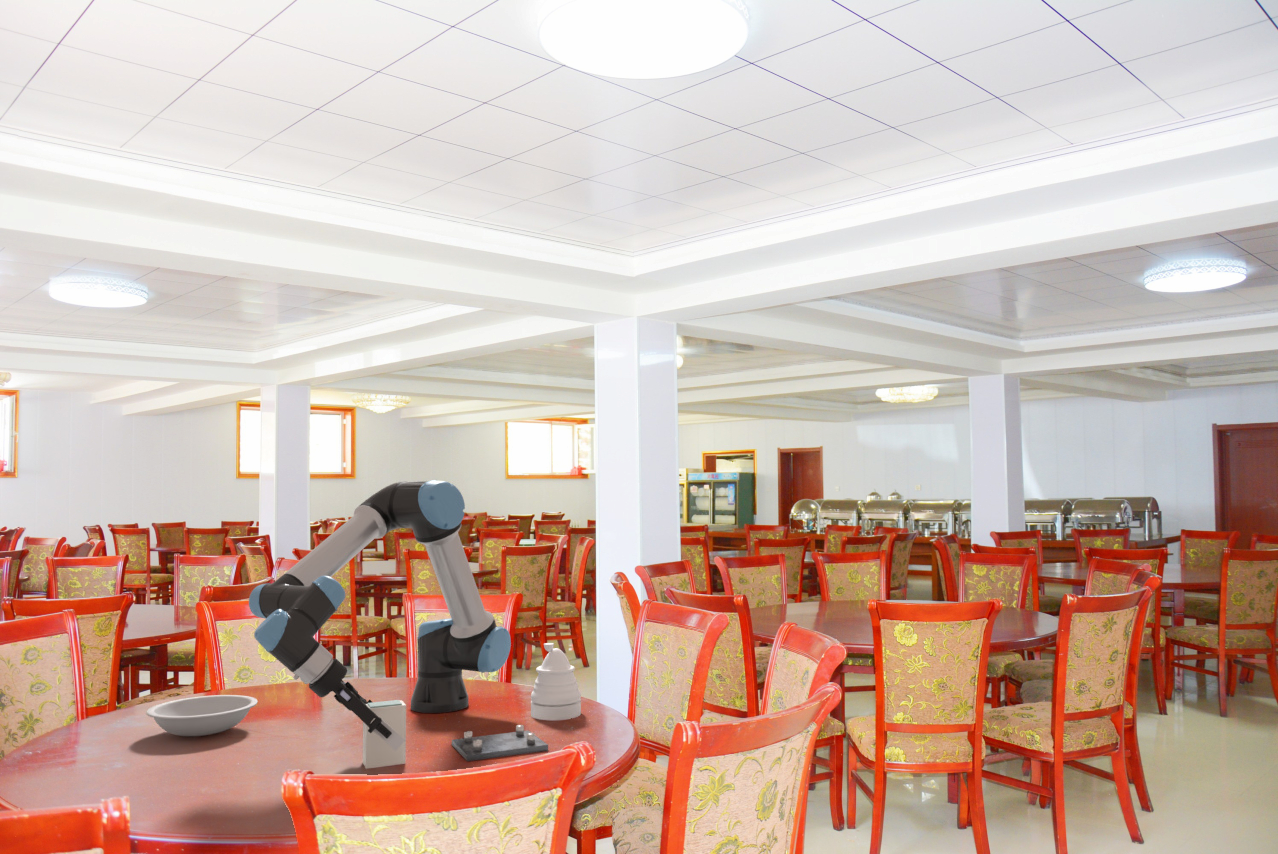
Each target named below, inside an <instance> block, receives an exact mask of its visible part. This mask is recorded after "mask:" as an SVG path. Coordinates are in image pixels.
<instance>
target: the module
mask: <svg viewBox="0 0 1278 854" xmlns="http://www.w3.org/2000/svg"><path fill="white" fill-rule="evenodd" d="M366 705H367V706H368V707H369V708H370V709H371V710H372V711H373V712H374V713H375V714H376V715H377V716H378V717H379V718H381V720H382V719H383V720H384V721H385V722H386V723H387V724H388V725H389V726H390V727H391V728H393V729H394V730H395V731H396V732H397V733H398V734H399V735H400V736H401V737H403V738H404V739H405V741H404V742H403V743H402V745H401V746H400V747H399V748H398V749H397V750H396V751H395V750H394V749H393V748H392V747H391V746H390V745H388V744H387V743H386V742H385V741H384V740H383V739H382V738H381V737H379V736H378V735H377V734H376V733H375V732H374V731H373V732H372V733H370V732H368V730H369V727H368V726H367V725H366V724H365V723H364V722H363V721H362V765H363V766H364V768H365V769H366V770H368V769H374V768H381V767H382V768H383V767H389V766H391V767H392V766H397V765H404V764H406V761H407V760H406V748H407V747H406V746H407V744H406V743H407V735H406V734H407V704H406V703H405V702H404V701H403V700H402V699H401V700H400V699H394V700H392V699H391V700H385V701H384V700H383V701H372V703H368V704H366ZM374 719H375V718H374ZM374 719H373V720H372V722H373V721H374ZM372 722H371V723H372Z"/></svg>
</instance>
